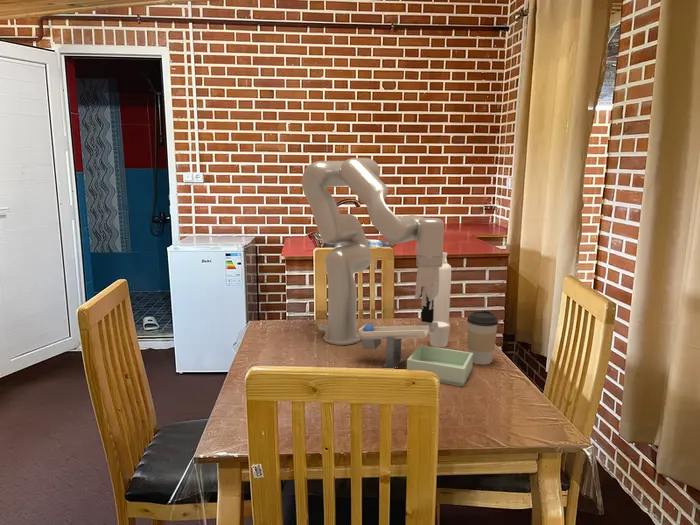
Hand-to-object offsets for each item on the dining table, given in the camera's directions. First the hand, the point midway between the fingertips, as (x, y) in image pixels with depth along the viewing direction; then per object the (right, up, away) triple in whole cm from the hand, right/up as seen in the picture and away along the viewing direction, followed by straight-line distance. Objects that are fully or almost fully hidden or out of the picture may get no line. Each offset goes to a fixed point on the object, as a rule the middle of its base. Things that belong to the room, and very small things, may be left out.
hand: (427, 321), depth 153 cm
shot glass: (+6, -10, +18) cm, 21 cm away
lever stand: (-10, -13, 0) cm, 16 cm away
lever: (-8, -6, +1) cm, 10 cm away
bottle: (+8, -7, +32) cm, 34 cm away
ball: (-17, -2, +1) cm, 17 cm away
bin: (+3, -14, -5) cm, 15 cm away
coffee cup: (+17, -13, +4) cm, 21 cm away
